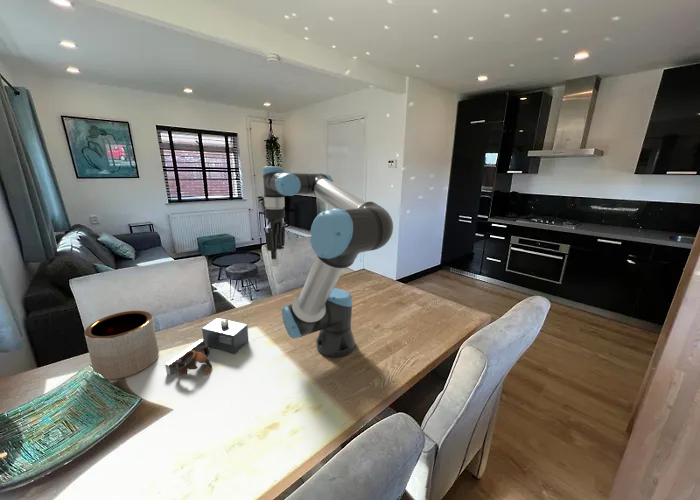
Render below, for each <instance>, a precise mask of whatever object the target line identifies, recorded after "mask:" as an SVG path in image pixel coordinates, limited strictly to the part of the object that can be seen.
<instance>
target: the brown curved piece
mask: <svg viewBox="0 0 700 500" xmlns="http://www.w3.org/2000/svg"><path fill="white" fill-rule="evenodd" d="M191 355H193V357H192V358H191V360H190V361H189V362H188V363H186V364H185V365H184V364H183V362H184V361H185V360H186V359H187V358H188V357H189V356H191ZM209 355H210V348H208V347H207V346H202V347H200V348H199V349H198V350H197V351H195V350H192V351H189V352H187V353H186V354H185V355H184V356H182V357H181V360H182V361H181V363H180V362H178V363H177V364H176V370H177V374H178V376H183V375H185V376H188V375H189V374H188V370H189V371H190V370H196V369H198V366H197V362H198V363H200V364H204V365H206V367H205V369H204V370H203V371H204V372H205V374H207V375H209V374H210V373H211V371H212V369H213V364H212V363H211V361H210V359H209Z"/></svg>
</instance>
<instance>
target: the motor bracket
mask: <svg viewBox="0 0 700 500" xmlns="http://www.w3.org/2000/svg"><path fill="white" fill-rule="evenodd" d="M248 327H249V326H248V323H243V322H239V321H238V322H237V321H233V320H229V319H224V318H219V317H216V318H215V319H213V320H212V321H211V322H209V323H208V324H206V325H204V326H203V327H202V328H201V331H202V338H200V339H199V340H198V341H196V342H195V343H193V344H192V345H190V346H189V347H188V348H186V349H185V350H183V351H182V352H180V353H179V354H177V355H176V356H175V357H173V358H172V359H170V360H169V361H168V362H166V363H165V371H166V375H168V376H172V375H173V374H174V373H176V372H178V370H176V364H177V363H178V362H180V363H181V361H182V360H181V357H182V356H184V355H185V354H186V353H187V352H189V351H192V350H195V351H197V350H198V349H199V348H200V347H202V346H207V347H208V348H209V349H213V350H215V351H216V350H217V351H219V352H220V351H221V352H223V353H227V354H232V355H236V354H238V352H240V350H242V349H243V348H244V347H245V346H246V345H247V344H248V343H249V342H250V341H249V329H248ZM192 357H193V355H191V356H189V357H188V358H187V359H186V360H185V361H184V362H183V364H184V365H186V364H187V363H188V362H189V361H190V360H191V358H192Z"/></svg>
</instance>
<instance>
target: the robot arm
mask: <svg viewBox="0 0 700 500" xmlns="http://www.w3.org/2000/svg"><path fill="white" fill-rule="evenodd" d="M262 171H263V172H262V182H263V198H264V199H263V200H264V207H265V208H264V217H265V219H267V225H266V227H265V226H264V227H263V231H264V235H265V236H264V237H265V242H266V249H267V251H268V252H270V258H271V266H272V267H277V268H278V267H279V265H281V266H282V265H283V261H282V258H283V257H282V250H284V249H285V247H284V246H285V241H286V226H287V222H286V221H285V222H284V220H283V219H285V218H286V209H285V207H286V205H285V203H286V201H285V197H287V196H289V197H291V196H296V195H299V196H300V195H314V196H315V197H316V198H318V199H319V200H321V202H324V203H325V204H326V205H328V206H330V208H331V209H329V210H324V211H322V212H320V213H318V214H317V216H316V217H315V218H314V220H313V222H312V224H311V226H310V227H311V228H310V234H311V236H310V238H309V239H310V244H311V248H312V250H313V252H314V255H315V258H314V261H313V263H312V265H311V268H310V269H309V273H308V275H307V278H306V280H305V283H304V285H303V287H302V289H301V292H300V293H298V294H297V295H296V296H295V297H293V299H292V303H291V304H286V305H284V306H283V307H282V309H281V318H282V322H283V324H284V328H285V330H286V332H287V334H288V336H289V337H290V338H291V339H299V338H303V337H305V336H308V335H310V334H313V333H317V332H318V335H317V338H316V340H315V341H316V342H315V343H316V345H315V347H316V349H317V352H319V353H320V354H322V355H324V356H326V357H328V358H329V357H330V358H342V357H346V356H348V355H349V354H351V353H352V352H353V351H354V348H355V337H354V334H353V333H354V332H353V331H352V315H353V312H352V309H353V297H352V294H351V293H349V292H348V291H347V290H344V289H341V288H338V287H337V288H336V287H335V286H336V284H337V282H338V281H339V279H340V277H341V275H342V274H343V271H344V270H345V269H347V268H350V267H351V266H352V265H353V264H354V262H355V260H356V259H357V257H358V255H359V254H360V253H365V252H370V251H376V250H379V249H381V248H382V247H384V246H386V244H388V242H389V241H390V239H391V238H392V235H393V233H394V222H393V219H392V216H391V214H390V213H389V212H388V211H387V210H386V209H385V208H383V206H381V205H379V204H377V203H376V202H373V201H366V200H365V199H362V198H360V197H359V196H357V195H356V194H354V193H351V191H348V190H347V189H345V188H344V187H342V186H340V185H338V184H337V183H335V182H334V179H333V178H332V176H331V175H330V174H327V173H326V174H325V173H321V172H320V173H305V172H304V173H302V172H301V173H299V172H298V173H297V172H285V171H284V167H283V166H272V165H271V166H269V165H268V166H267V165H266V166H265V165H264V166H263V169H262Z"/></svg>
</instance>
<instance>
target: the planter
mask: <svg viewBox="0 0 700 500" xmlns="http://www.w3.org/2000/svg"><path fill="white" fill-rule="evenodd" d="M156 335H157V334H156V331H155V324H154V320H153V315H152V314H151V313H150V312H148V311H145V310H129V311H122V312H117V313H114V314H109V315H107V316H105V317H102V318H99V319H97V320H96V321H93V322H92V323H91V324H90V325H88V326H87V327H86V328H85V330H84V337H85V340H86V344H87V345H86V346H87V349H88V353H89V357H90V358H89V359H90V363H91V367H92V370H94V371H95V372H97V373H99V374H101V375H102V376H103V377H104V378H106V379H105V380H118V379H123V378H126V377H130V376H132V375H135V374H137V373H139V372H141V371H144V370H145V369H147V368H148V367H149V366H151V364H153V363H154V362H155V361H156V360H157V358H158V356H159V355H160V354H159V353H160V351H159V345H158V340H157V336H156ZM94 371H93V372H94Z"/></svg>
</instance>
